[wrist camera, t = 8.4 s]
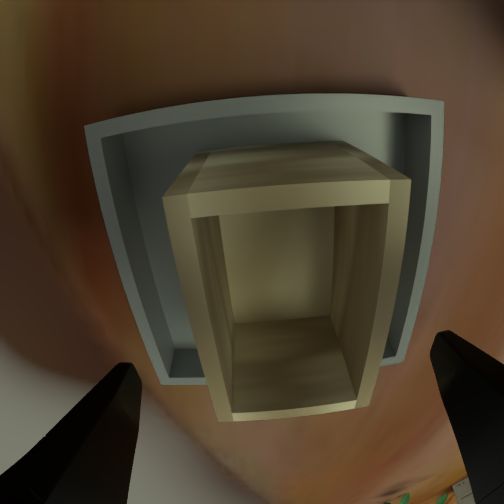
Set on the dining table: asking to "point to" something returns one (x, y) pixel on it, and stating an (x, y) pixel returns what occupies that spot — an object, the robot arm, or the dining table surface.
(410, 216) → the grey tray
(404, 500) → the flower vase
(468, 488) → the supplement box
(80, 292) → the dining table surface
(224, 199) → the birch crate
